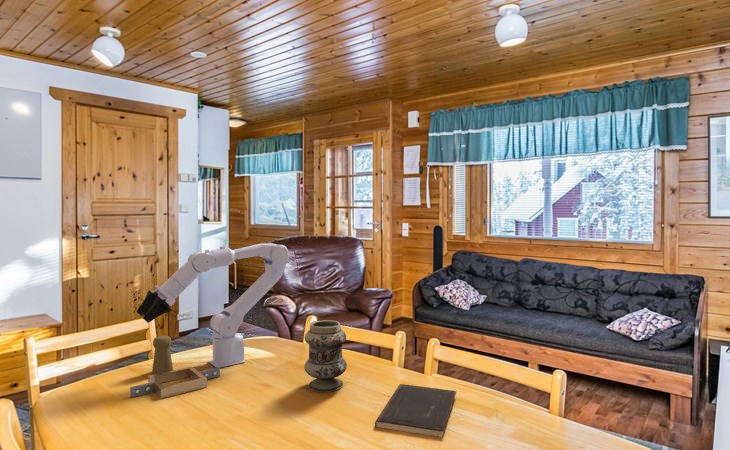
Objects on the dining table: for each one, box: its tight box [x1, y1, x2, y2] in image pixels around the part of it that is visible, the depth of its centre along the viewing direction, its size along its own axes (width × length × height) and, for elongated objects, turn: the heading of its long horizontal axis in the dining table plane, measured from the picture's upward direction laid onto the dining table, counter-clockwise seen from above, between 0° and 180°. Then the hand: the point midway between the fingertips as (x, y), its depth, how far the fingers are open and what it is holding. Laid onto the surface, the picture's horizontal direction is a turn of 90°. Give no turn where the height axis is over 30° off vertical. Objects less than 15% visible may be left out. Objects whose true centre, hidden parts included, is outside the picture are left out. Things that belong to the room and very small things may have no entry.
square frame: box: [129, 366, 221, 400], centre depth 134 cm, size 24×12×2 cm, turn 129°
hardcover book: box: [374, 383, 457, 437], centre depth 118 cm, size 16×23×2 cm
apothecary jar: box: [303, 319, 348, 393], centre depth 134 cm, size 12×12×18 cm
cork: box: [151, 335, 174, 375], centre depth 144 cm, size 6×6×11 cm
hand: (141, 317), depth 138 cm, fingers open, 7 cm apart
